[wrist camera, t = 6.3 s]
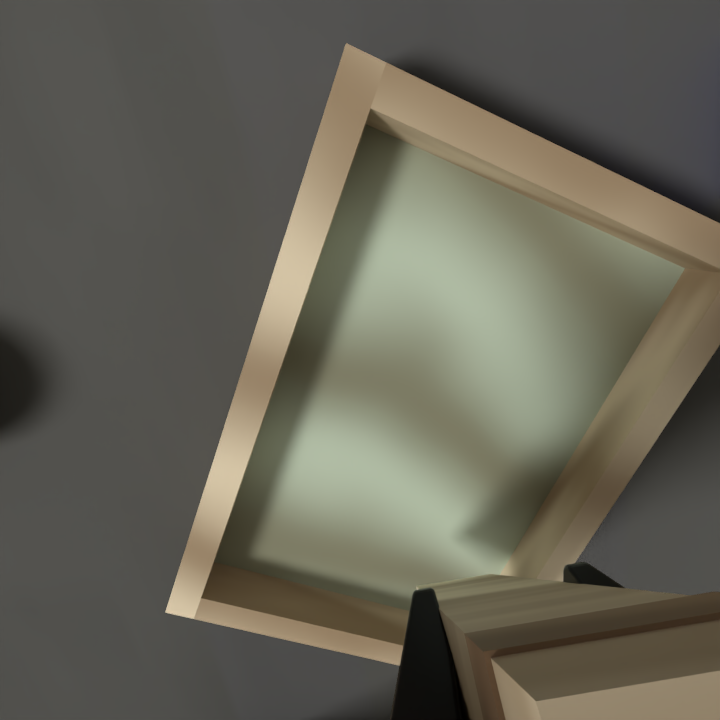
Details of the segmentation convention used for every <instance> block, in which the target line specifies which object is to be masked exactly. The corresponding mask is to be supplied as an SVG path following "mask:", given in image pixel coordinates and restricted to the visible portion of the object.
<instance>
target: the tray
mask: <svg viewBox="0 0 720 720" xmlns="http://www.w3.org/2000/svg"><path fill="white" fill-rule="evenodd" d="M719 345H720V223H718V222H716V221H714V220H712V219H710V218H708V217H706V216H703V215H701V214H699V213H697V212H695V211H693V210H691V209H689V208H687V207H685V206H683V205H681V204H679V203H676V202H674V201H672V200H670V199H668V198H666V197H664V196H662V195H660V194H658V193H656V192H654V191H652V190H650V189H647V188H645V187H643V186H641V185H639V184H637V183H635V182H633V181H631V180H629V179H627V178H625V177H623V176H620V175H618V174H616V173H614V172H612V171H610V170H608V169H606V168H604V167H602V166H600V165H598V164H596V163H594V162H591V161H589V160H587V159H585V158H583V157H581V156H579V155H577V154H575V153H573V152H571V151H569V150H567V149H564V148H562V147H560V146H558V145H556V144H554V143H552V142H550V141H548V140H546V139H544V138H542V137H540V136H538V135H535V134H533V133H531V132H529V131H527V130H525V129H523V128H521V127H519V126H517V125H515V124H513V123H511V122H508V121H506V120H504V119H502V118H500V117H498V116H496V115H494V114H492V113H490V112H488V111H486V110H484V109H482V108H479V107H477V106H475V105H473V104H471V103H469V102H467V101H465V100H463V99H461V98H459V97H457V96H455V95H452V94H450V93H448V92H446V91H444V90H442V89H440V88H438V87H436V86H434V85H432V84H430V83H428V82H426V81H423V80H421V79H419V78H417V77H415V76H413V75H411V74H409V73H407V72H405V71H403V70H401V69H399V68H396V67H394V66H392V65H390V64H388V63H386V62H384V61H382V60H380V59H378V58H376V57H374V56H372V55H370V54H367V53H365V52H363V51H361V50H359V49H357V48H355V47H353V46H351V45H349V44H347V43H346V45H345V48H344V51H343V54H342V58H341V61H340V64H339V67H338V70H337V73H336V77H335V80H334V83H333V86H332V89H331V92H330V95H329V99H328V102H327V105H326V108H325V111H324V114H323V117H322V121H321V124H320V127H319V130H318V133H317V136H316V139H315V143H314V146H313V149H312V152H311V155H310V158H309V162H308V165H307V168H306V171H305V174H304V177H303V180H302V184H301V187H300V190H299V193H298V196H297V199H296V202H295V206H294V209H293V212H292V215H291V218H290V221H289V224H288V228H287V231H286V234H285V237H284V240H283V243H282V247H281V250H280V253H279V256H278V259H277V262H276V265H275V269H274V272H273V275H272V278H271V281H270V284H269V287H268V291H267V294H266V297H265V300H264V303H263V306H262V309H261V313H260V316H259V319H258V322H257V325H256V328H255V332H254V335H253V338H252V341H251V344H250V347H249V350H248V354H247V357H246V360H245V363H244V366H243V369H242V372H241V376H240V379H239V382H238V385H237V388H236V391H235V394H234V398H233V401H232V404H231V407H230V410H229V413H228V416H227V420H226V423H225V426H224V429H223V432H222V435H221V439H220V442H219V445H218V448H217V451H216V454H215V457H214V461H213V464H212V467H211V470H210V473H209V476H208V479H207V483H206V486H205V489H204V492H203V495H202V498H201V501H200V505H199V508H198V511H197V514H196V517H195V520H194V524H193V527H192V530H191V533H190V536H189V539H188V542H187V546H186V549H185V552H184V555H183V558H182V561H181V564H180V568H179V571H178V574H177V577H176V580H175V583H174V586H173V590H172V593H171V596H170V599H169V602H168V605H167V609H166V612H165V613H170V614H174V615H179V616H183V617H187V618H192V619H196V620H201V621H205V622H210V623H214V624H218V625H223V626H227V627H232V628H236V629H241V630H245V631H249V632H254V633H258V634H263V635H267V636H271V637H276V638H280V639H285V640H289V641H294V642H298V643H302V644H307V645H311V646H316V647H320V648H324V649H329V650H333V651H338V652H342V653H347V654H351V655H355V656H360V657H364V658H369V659H373V660H378V661H382V662H386V663H391V664H395V665H400V661H401V656H402V650H403V645H404V639H405V633H406V628H407V622H408V616H409V611H410V605H411V600H412V594H413V592H414V591H415V590H417V589H416V586H421V585H427V584H433V583H439V582H445V581H451V580H457V579H463V578H469V577H475V576H481V575H487V574H496V575H505V576H515V577H524V578H533V579H542V580H552V581H561V582H562V581H563V570H564V567H565V565H567V564H573V563H575V562H576V560H577V559H578V557H579V556H580V554H581V553H582V551H583V550H584V548H585V547H586V545H587V544H588V542H589V541H590V539H591V538H592V536H593V535H594V533H595V532H596V530H597V529H598V527H599V526H600V524H601V523H602V521H603V520H604V518H605V517H606V515H607V514H608V512H609V511H610V509H611V508H612V506H613V505H614V503H615V502H616V500H617V499H618V497H619V496H620V494H621V493H622V491H623V490H624V488H625V487H626V485H627V484H628V482H629V481H630V479H631V478H632V476H633V475H634V473H635V472H636V470H637V469H638V467H639V465H640V464H641V462H642V461H643V459H644V458H645V456H646V455H647V453H648V452H649V450H650V449H651V447H652V446H653V444H654V443H655V441H656V440H657V438H658V437H659V435H660V434H661V432H662V431H663V429H664V428H665V426H666V425H667V423H668V422H669V420H670V419H671V417H672V416H673V414H674V413H675V411H676V410H677V408H678V407H679V405H680V404H681V402H682V401H683V399H684V398H685V396H686V395H687V393H688V392H689V390H690V389H691V387H692V386H693V384H694V383H695V381H696V380H697V378H698V377H699V375H700V374H701V372H702V371H703V369H704V368H705V366H706V365H707V363H708V362H709V360H710V359H711V357H712V356H713V354H714V353H715V351H716V350H717V348H718V347H719Z"/></svg>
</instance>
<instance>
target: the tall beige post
mask: <svg viewBox="0 0 720 720" xmlns="http://www.w3.org/2000/svg"><path fill="white" fill-rule="evenodd" d="M429 587H430V588H433V589H434V591H435V594H436V597H437V600H438V603H439V607H440V608H439V611H440V614H441V618H442V621H443V625H444V628H445V631H446V635H447V638H448V642H449V645H450V648H451V652H452V656H453V659H454V664H455V672H456V679H457V686H458V693H459V701H460V708H461V715H462V720H720V592H709V593H703V594H697V595H681V594H672V593H663V592H653V591H644V590H635V589H626V588H616V587H607V586H598V585H589V584H575V583H566V582H561V581H552V580H542V579H533V578H524V577H515V576H505V575H496V574H487V575H481V576H475V577H469V578H463V579H457V580H451V581H445V582H439V583H433V584H427V585H421V586H416V589H417V590H418V589H424V588H429Z"/></svg>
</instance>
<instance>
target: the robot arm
mask: <svg viewBox="0 0 720 720" xmlns="http://www.w3.org/2000/svg"><path fill="white" fill-rule="evenodd" d="M563 582H566V583H575V584H589V585H598V586H607V587H616V588H624V587H623V586H621V585H620V584H618V583H617V582H615V581H614V580H612V579H611V578H609V577H608V576H606V575H605V574H603V573H602V572H600V571H599V570H597V569H596V568H594V567H593V566H591V565H590V564H588V563H585V562H579V563H573V564H567V565H565V567H564V570H563ZM439 608H440V607H439V603H438V600H437V597H436V594H435V591H434V589H433V588H430V587H429V588H424V589H418V590H415V591H414V592H413V594H412V600H411V605H410V611H409V616H408V622H407V628H406V633H405V639H404V645H403V650H402V656H401V661H400V667H399V673H398V678H397V684H396V689H395V695H394V701H393V706H392V712H391V717H390V720H462V715H461V708H460V701H459V693H458V686H457V679H456V672H455V664H454V659H453V656H452V652H451V648H450V645H449V642H448V638H447V635H446V631H445V628H444V625H443V621H442V618H441V614H440V611H439Z"/></svg>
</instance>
